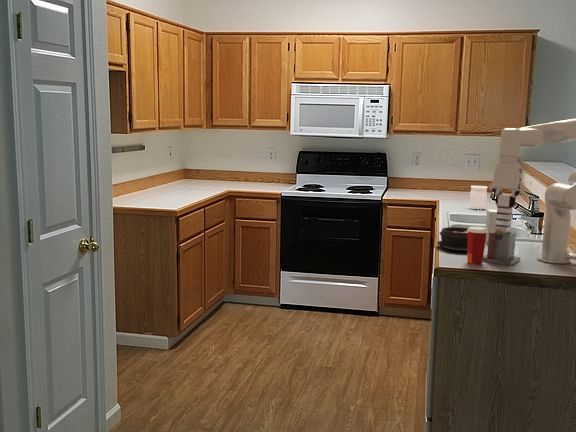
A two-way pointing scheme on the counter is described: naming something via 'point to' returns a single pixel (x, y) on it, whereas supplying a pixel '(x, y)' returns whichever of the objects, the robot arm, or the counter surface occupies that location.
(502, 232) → the column
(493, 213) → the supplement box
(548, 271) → the counter surface
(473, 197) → the jar
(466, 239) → the casserole
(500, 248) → the stand
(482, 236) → the paper cup
